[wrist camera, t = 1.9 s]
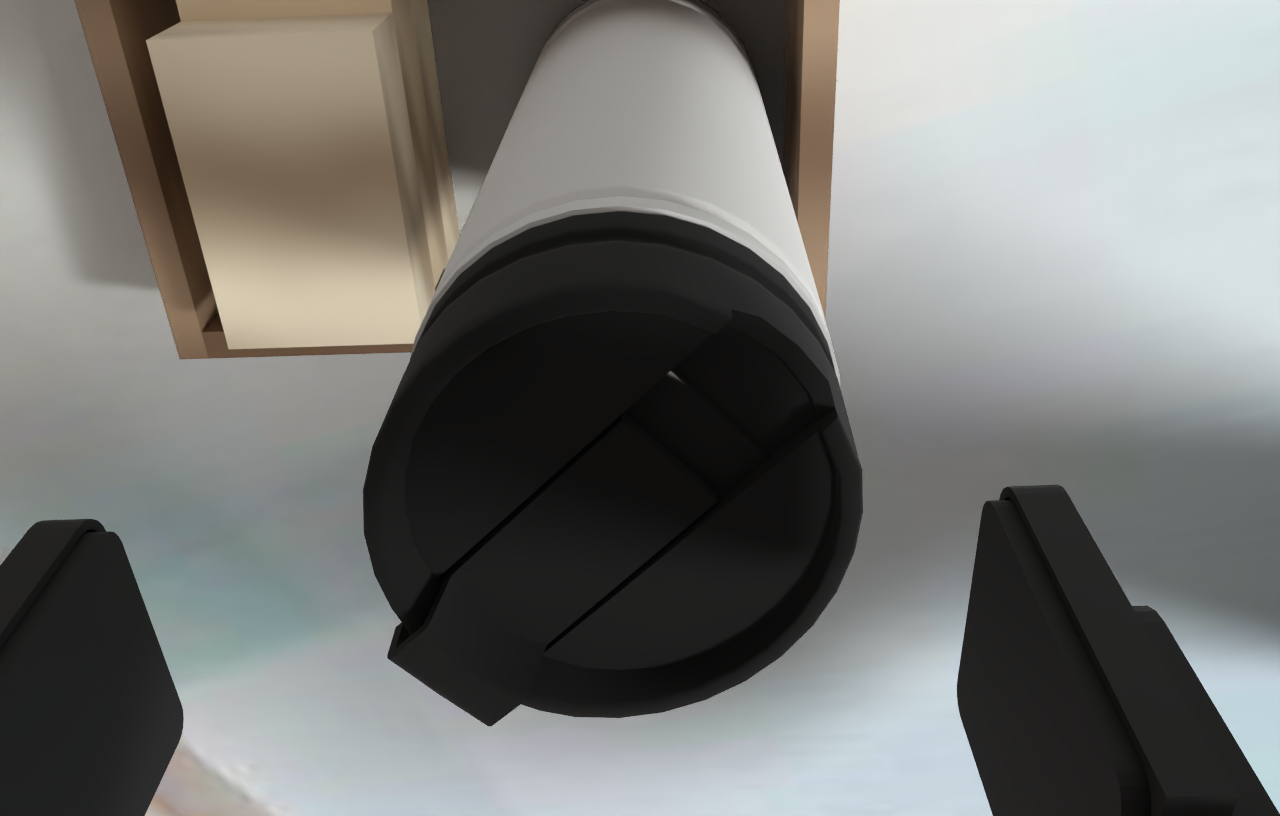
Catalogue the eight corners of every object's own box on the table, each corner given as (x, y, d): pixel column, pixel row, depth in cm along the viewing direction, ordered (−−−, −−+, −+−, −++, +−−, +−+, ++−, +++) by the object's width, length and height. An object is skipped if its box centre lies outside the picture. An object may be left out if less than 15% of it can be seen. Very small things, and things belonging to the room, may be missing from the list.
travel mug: (476, 112, 30) (227, 569, 13) (643, -70, 28) (605, 196, 11) (636, 261, 32) (602, 819, 15) (804, 103, 30) (990, 558, 13)
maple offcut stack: (462, 251, 33) (423, 343, 27) (297, 257, 33) (228, 349, 28) (421, -42, 28) (367, 0, 23) (233, -34, 29) (137, 11, 23)
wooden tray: (807, 278, 33) (824, 339, 29) (230, 298, 33) (179, 359, 30) (821, -111, 27) (843, -93, 24) (132, -79, 28) (58, -57, 25)
